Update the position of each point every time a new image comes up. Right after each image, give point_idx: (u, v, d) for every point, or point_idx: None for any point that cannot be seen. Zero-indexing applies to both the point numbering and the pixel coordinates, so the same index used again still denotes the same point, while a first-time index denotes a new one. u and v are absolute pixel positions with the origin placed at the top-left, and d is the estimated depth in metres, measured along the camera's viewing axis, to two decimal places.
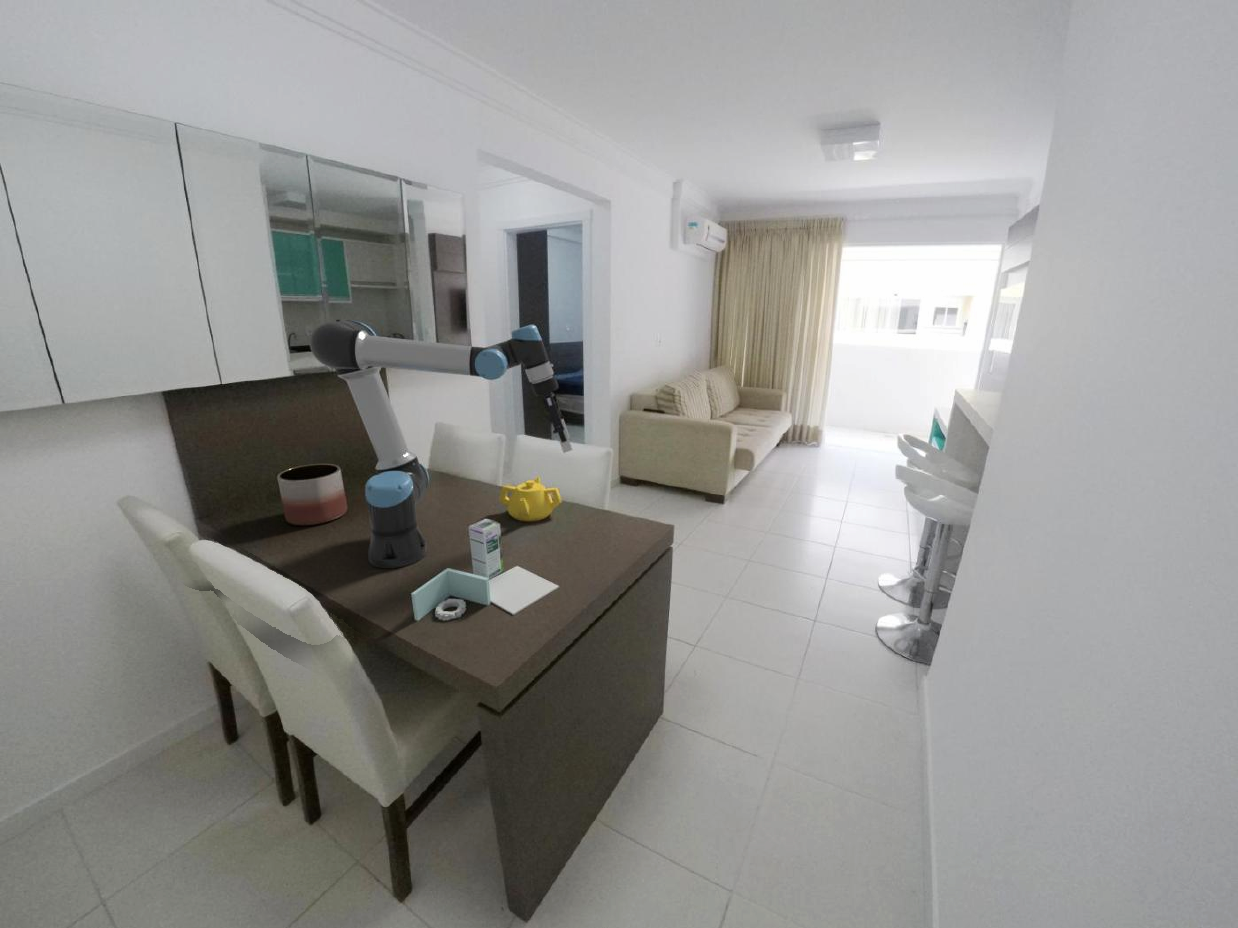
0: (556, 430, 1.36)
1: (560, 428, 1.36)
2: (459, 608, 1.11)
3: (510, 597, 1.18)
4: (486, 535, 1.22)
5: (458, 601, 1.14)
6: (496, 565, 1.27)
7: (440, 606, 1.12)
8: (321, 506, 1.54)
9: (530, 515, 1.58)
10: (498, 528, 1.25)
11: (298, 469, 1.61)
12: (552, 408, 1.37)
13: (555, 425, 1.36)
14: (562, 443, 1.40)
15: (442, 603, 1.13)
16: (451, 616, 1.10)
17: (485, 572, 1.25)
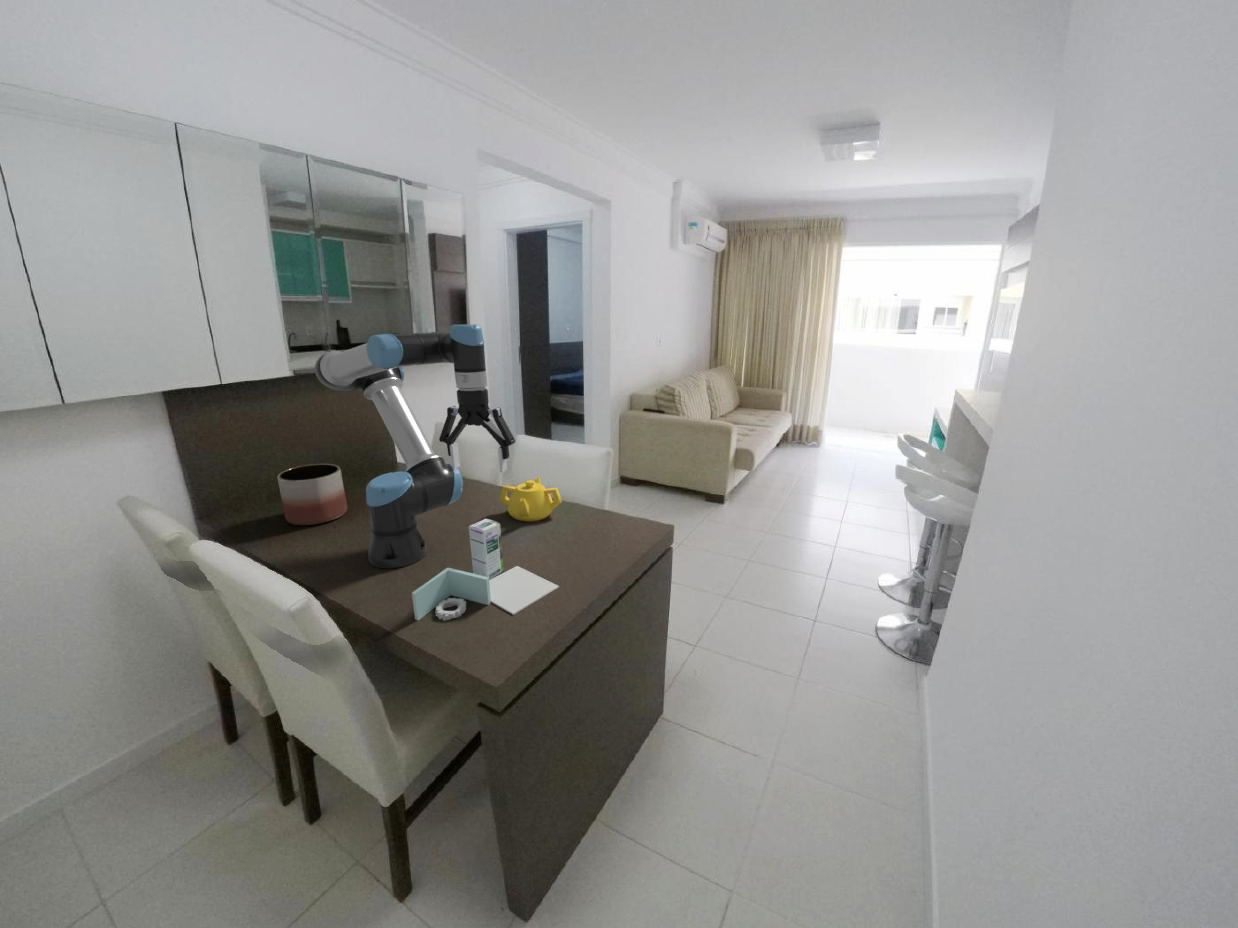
0: None
1: None
2: (459, 607, 1.12)
3: (510, 597, 1.18)
4: (486, 535, 1.22)
5: (458, 600, 1.14)
6: (496, 565, 1.27)
7: (440, 605, 1.12)
8: (321, 506, 1.54)
9: (530, 515, 1.58)
10: (498, 528, 1.25)
11: (298, 469, 1.61)
12: None
13: None
14: None
15: (442, 602, 1.14)
16: (451, 615, 1.10)
17: (485, 572, 1.25)
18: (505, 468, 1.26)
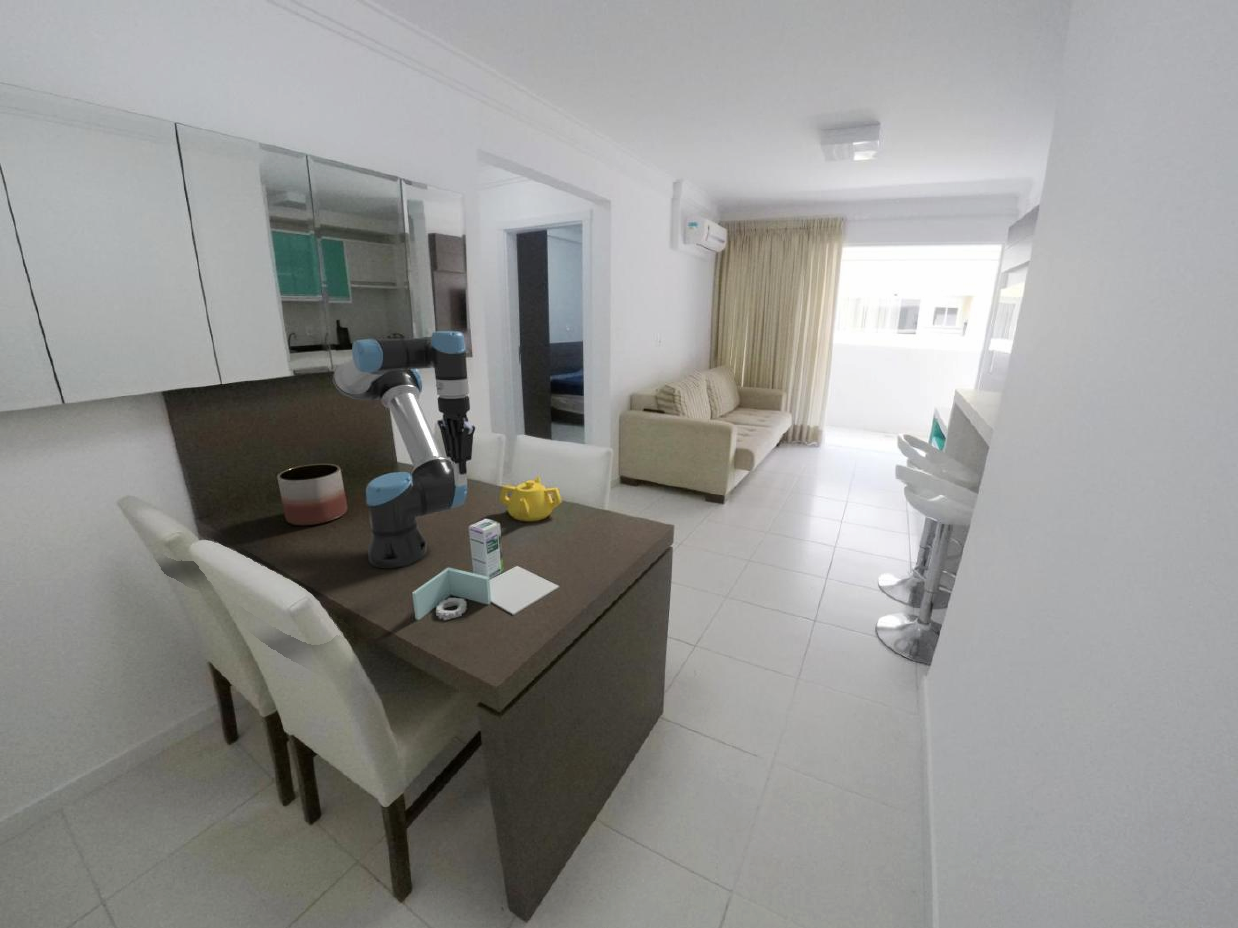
0: None
1: None
2: (460, 607, 1.12)
3: (510, 597, 1.18)
4: (486, 535, 1.22)
5: (459, 600, 1.15)
6: (496, 565, 1.27)
7: (441, 605, 1.13)
8: (321, 506, 1.54)
9: (530, 515, 1.58)
10: (498, 528, 1.25)
11: (298, 469, 1.61)
12: None
13: None
14: None
15: (443, 602, 1.14)
16: (452, 615, 1.10)
17: (485, 572, 1.25)
18: (464, 483, 1.27)
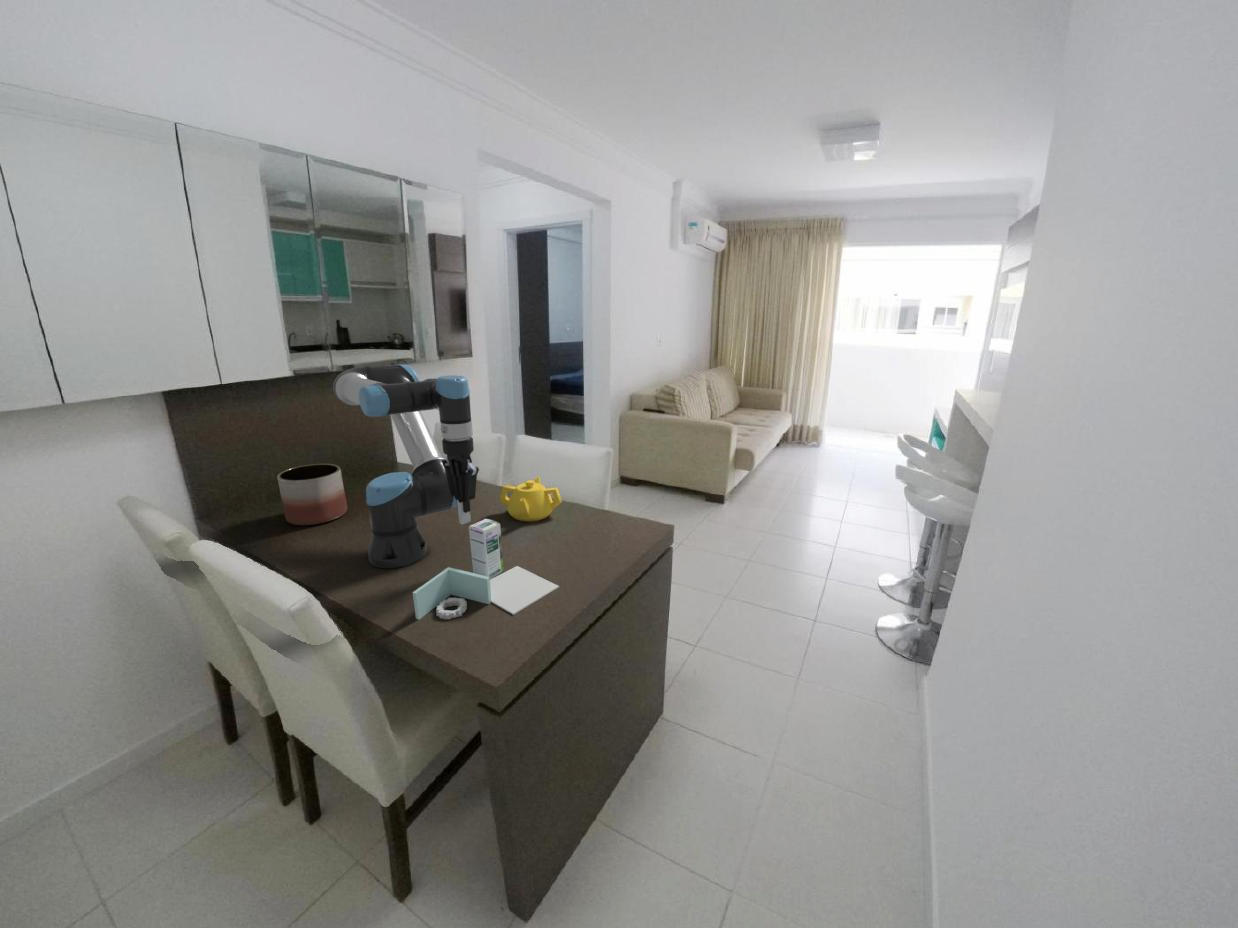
0: None
1: None
2: (460, 607, 1.12)
3: (510, 597, 1.18)
4: (486, 535, 1.22)
5: (459, 600, 1.15)
6: (496, 565, 1.27)
7: (441, 605, 1.13)
8: (321, 506, 1.54)
9: (530, 515, 1.58)
10: (498, 528, 1.25)
11: (298, 469, 1.61)
12: None
13: None
14: None
15: (443, 602, 1.14)
16: (452, 615, 1.10)
17: (485, 572, 1.25)
18: (467, 520, 1.30)
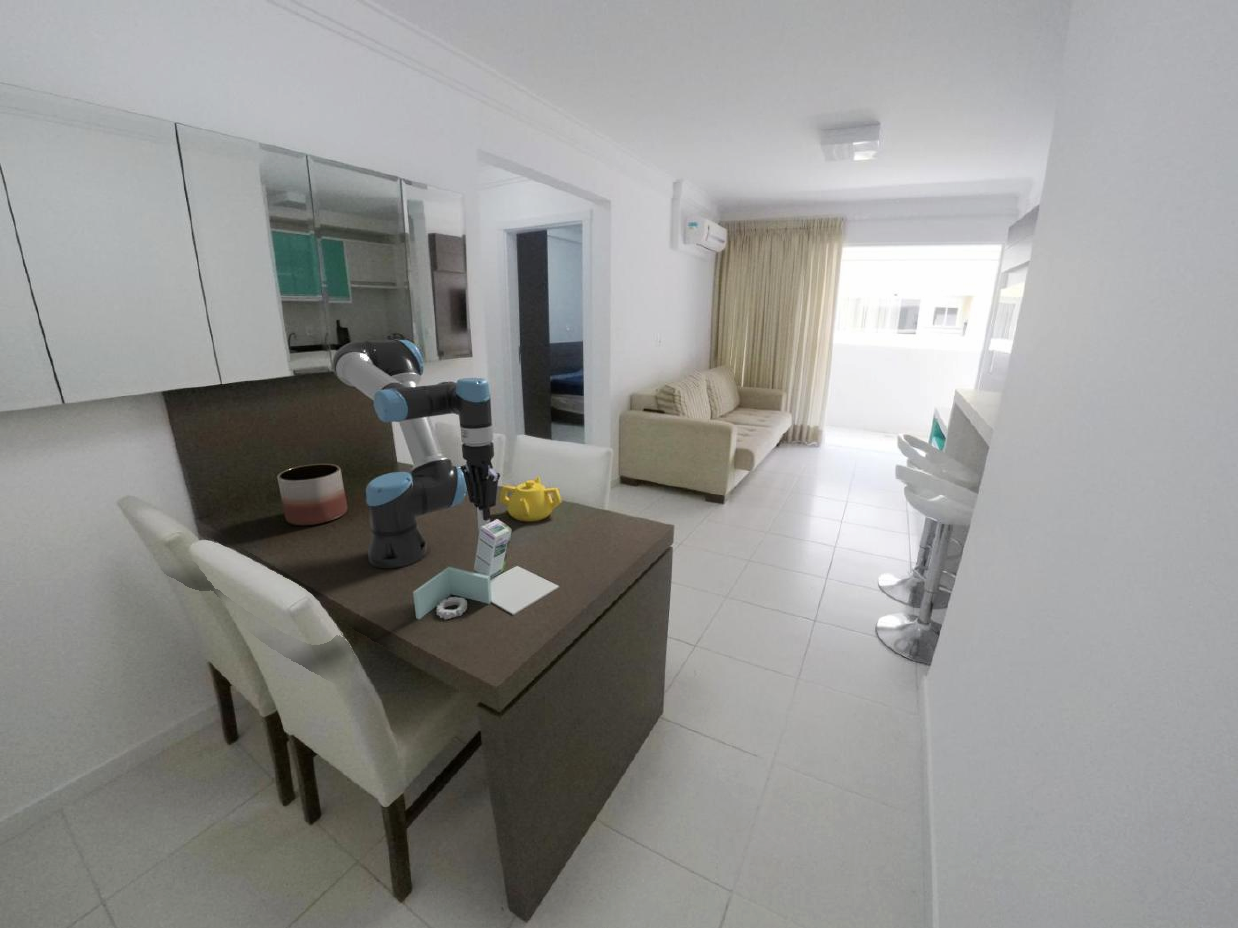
0: None
1: None
2: (460, 606, 1.12)
3: (510, 597, 1.18)
4: (496, 541, 1.20)
5: (459, 599, 1.15)
6: (499, 566, 1.26)
7: (441, 604, 1.13)
8: (321, 506, 1.54)
9: (530, 515, 1.58)
10: (509, 534, 1.23)
11: (298, 469, 1.61)
12: None
13: None
14: None
15: (443, 601, 1.14)
16: (452, 614, 1.10)
17: (487, 572, 1.25)
18: None
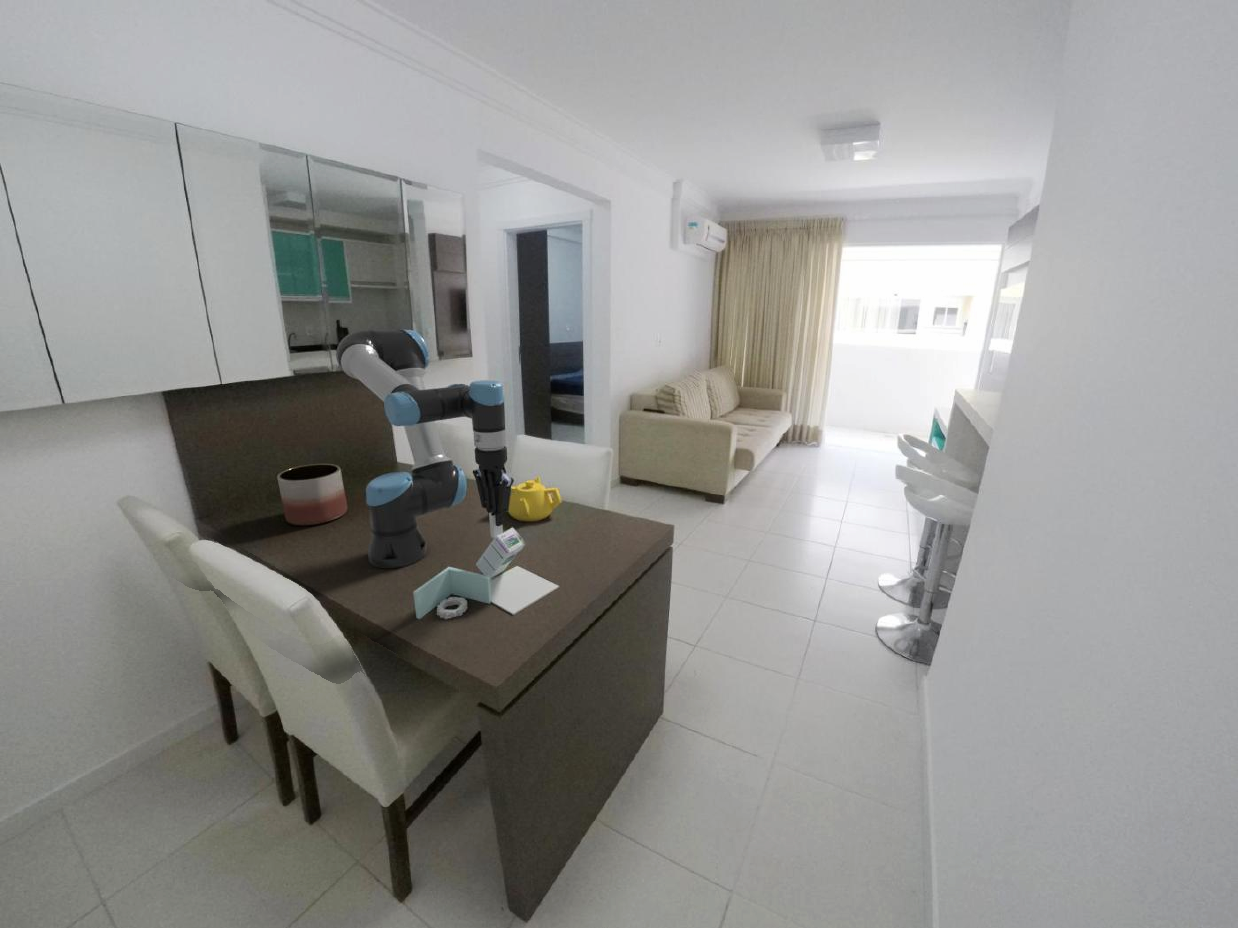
0: None
1: None
2: (461, 606, 1.12)
3: (510, 597, 1.18)
4: (509, 554, 1.19)
5: (459, 599, 1.15)
6: (502, 569, 1.26)
7: (442, 604, 1.13)
8: (321, 506, 1.54)
9: (530, 515, 1.58)
10: (522, 547, 1.22)
11: (298, 469, 1.61)
12: None
13: None
14: None
15: (443, 601, 1.14)
16: (453, 614, 1.10)
17: (490, 574, 1.24)
18: None
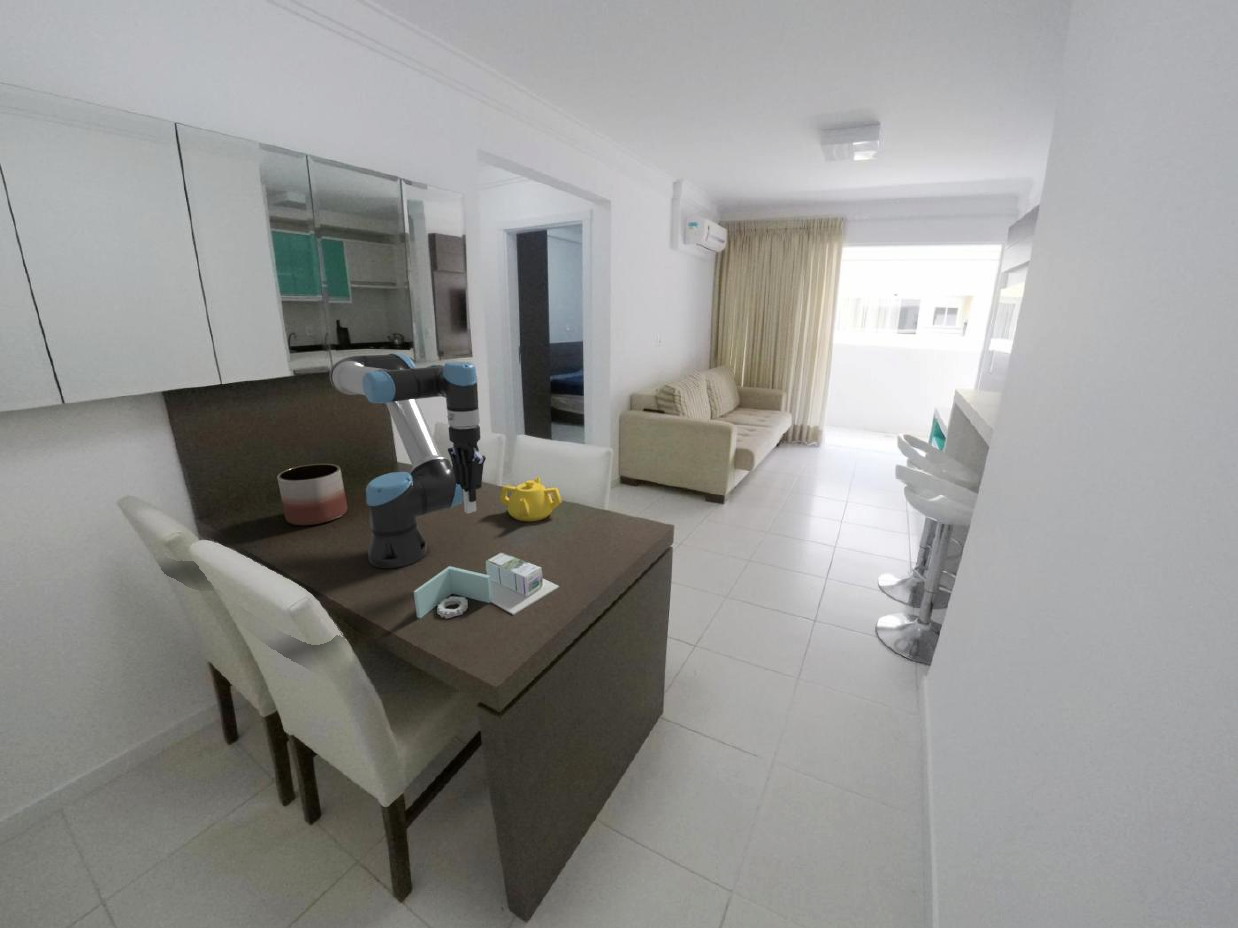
0: None
1: None
2: (461, 606, 1.12)
3: (510, 597, 1.18)
4: None
5: (460, 599, 1.15)
6: None
7: (442, 604, 1.13)
8: (321, 506, 1.54)
9: (530, 515, 1.58)
10: None
11: (298, 469, 1.61)
12: None
13: None
14: None
15: (444, 601, 1.14)
16: (453, 613, 1.10)
17: (493, 580, 1.24)
18: (473, 510, 1.28)
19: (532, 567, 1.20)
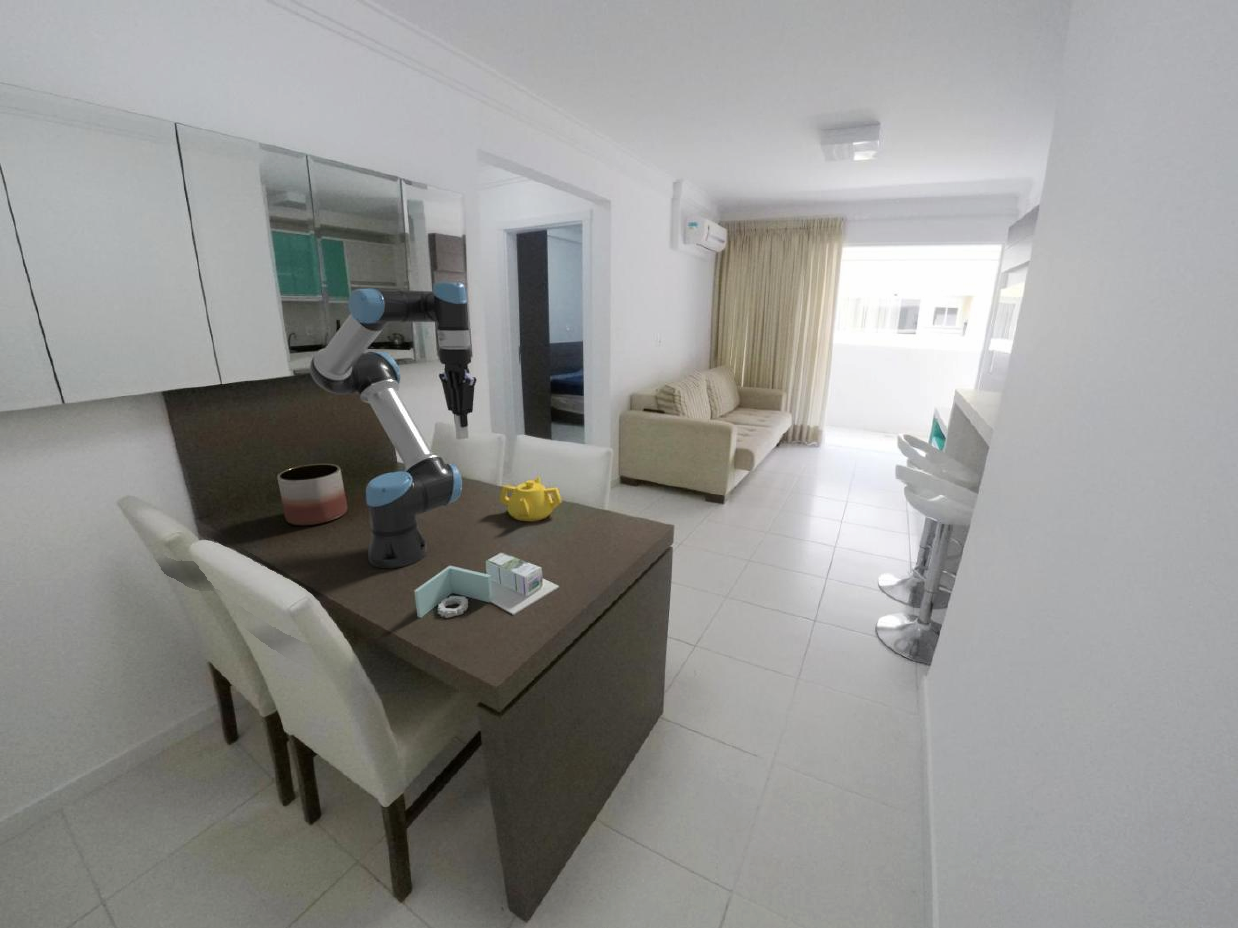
0: None
1: None
2: (461, 605, 1.13)
3: (510, 597, 1.18)
4: None
5: (460, 598, 1.15)
6: None
7: (442, 603, 1.13)
8: (321, 506, 1.54)
9: (530, 515, 1.58)
10: None
11: (298, 469, 1.61)
12: None
13: None
14: None
15: (444, 600, 1.14)
16: (454, 613, 1.11)
17: (493, 580, 1.24)
18: (465, 436, 1.28)
19: (532, 567, 1.20)
